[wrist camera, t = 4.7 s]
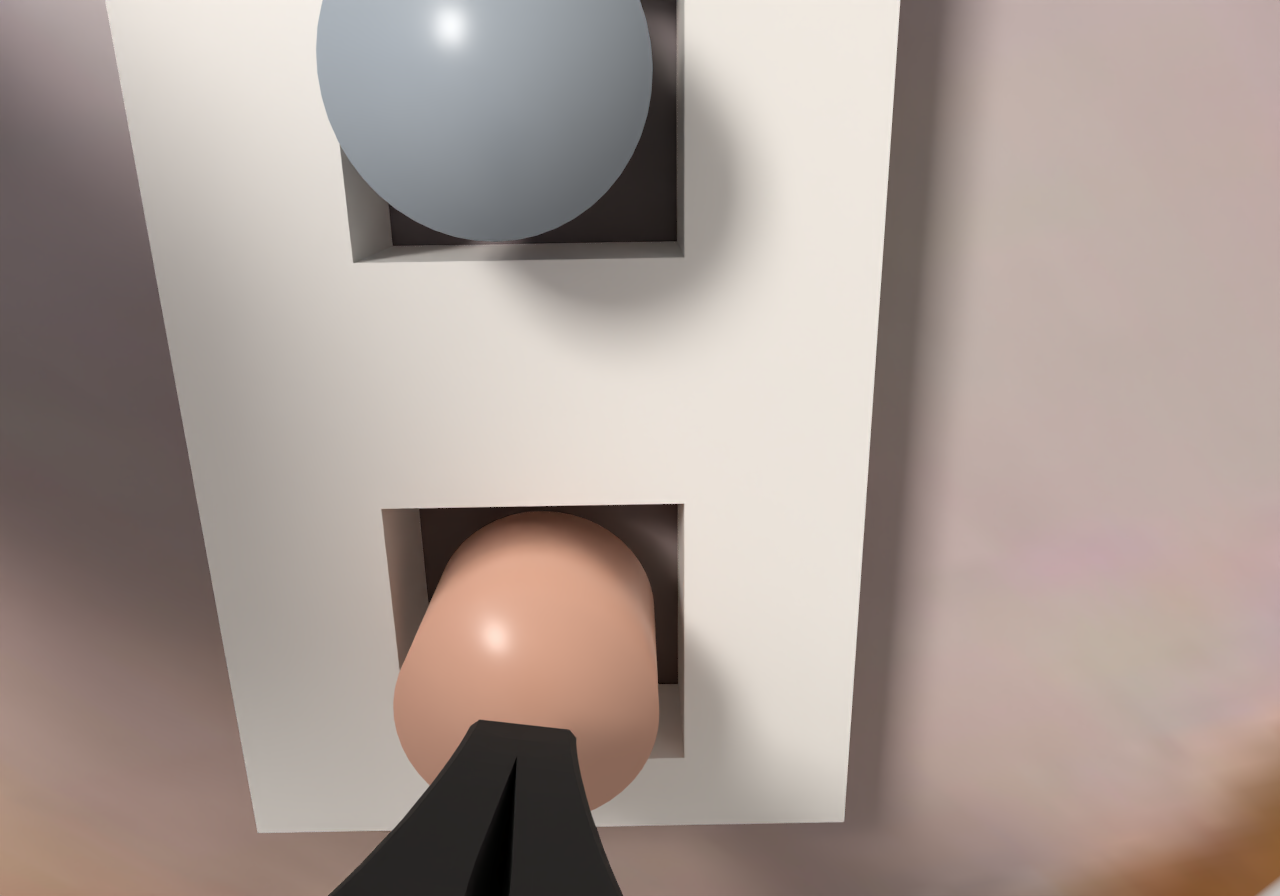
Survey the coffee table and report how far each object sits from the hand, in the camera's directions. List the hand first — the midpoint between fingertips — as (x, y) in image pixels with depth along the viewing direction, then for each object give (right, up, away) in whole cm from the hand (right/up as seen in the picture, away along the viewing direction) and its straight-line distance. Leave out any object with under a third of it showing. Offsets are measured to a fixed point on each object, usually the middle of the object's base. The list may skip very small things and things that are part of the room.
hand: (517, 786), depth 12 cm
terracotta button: (0, +2, +4) cm, 5 cm away
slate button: (0, +10, +2) cm, 10 cm away
